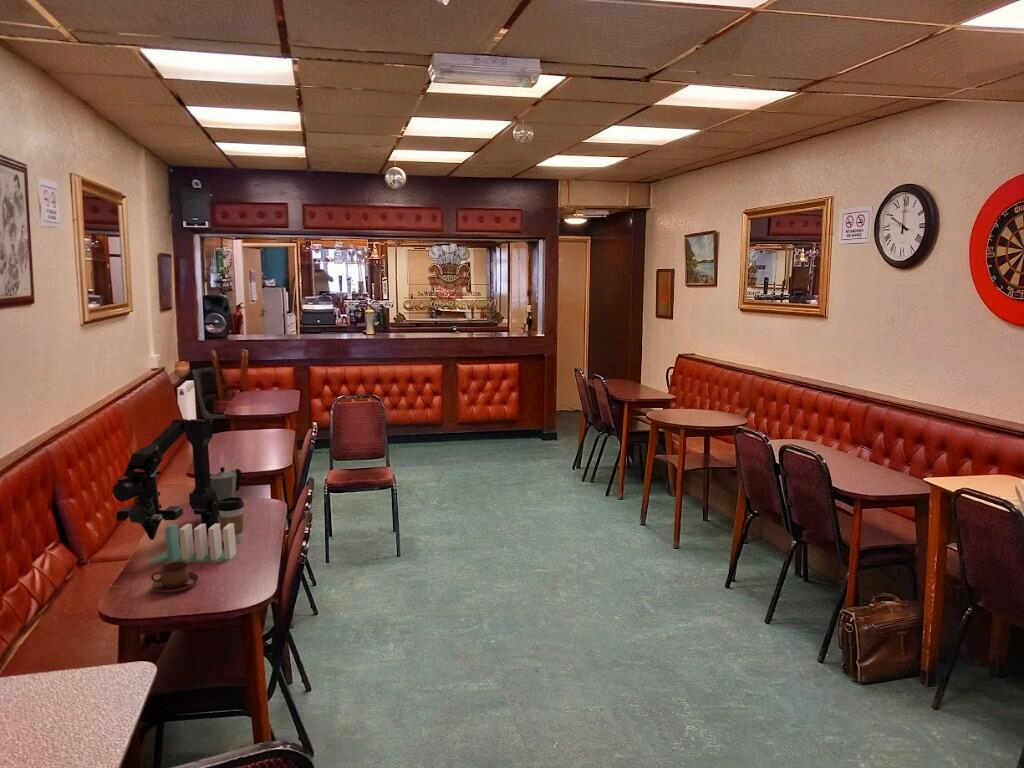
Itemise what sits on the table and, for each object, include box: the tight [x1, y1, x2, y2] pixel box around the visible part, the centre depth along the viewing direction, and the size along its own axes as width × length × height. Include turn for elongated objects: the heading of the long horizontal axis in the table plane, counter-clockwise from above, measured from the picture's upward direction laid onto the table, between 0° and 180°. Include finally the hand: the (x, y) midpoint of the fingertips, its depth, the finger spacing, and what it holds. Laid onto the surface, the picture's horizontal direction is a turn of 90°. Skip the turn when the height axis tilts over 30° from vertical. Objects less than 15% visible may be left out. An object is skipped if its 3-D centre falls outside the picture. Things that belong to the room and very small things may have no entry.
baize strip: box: [148, 551, 240, 564], centre depth 231 cm, size 8×26×1 cm, turn 89°
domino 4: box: [207, 523, 223, 560], centre depth 230 cm, size 5×2×10 cm, turn 179°
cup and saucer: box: [150, 562, 199, 593], centre depth 210 cm, size 12×12×6 cm
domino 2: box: [178, 523, 195, 560], centre depth 230 cm, size 5×2×10 cm, turn 179°
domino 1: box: [164, 523, 181, 560], centre depth 230 cm, size 5×2×10 cm, turn 179°
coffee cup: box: [217, 496, 245, 545], centre depth 242 cm, size 8×8×15 cm
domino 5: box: [222, 523, 237, 560], centre depth 230 cm, size 5×2×10 cm, turn 179°
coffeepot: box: [210, 467, 243, 517], centre depth 272 cm, size 15×9×18 cm, turn 154°
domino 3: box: [193, 523, 209, 560], centre depth 230 cm, size 5×2×10 cm, turn 179°
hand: (152, 539), depth 230 cm, fingers closed
